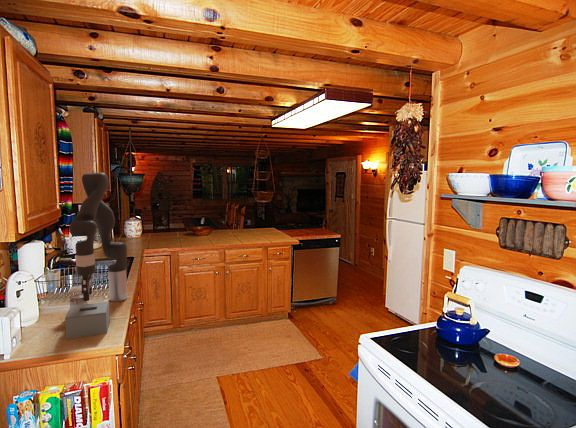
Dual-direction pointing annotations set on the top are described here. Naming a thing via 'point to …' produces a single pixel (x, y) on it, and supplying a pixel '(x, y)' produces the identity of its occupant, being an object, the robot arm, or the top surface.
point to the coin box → (87, 319)
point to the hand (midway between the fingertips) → (87, 297)
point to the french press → (79, 297)
